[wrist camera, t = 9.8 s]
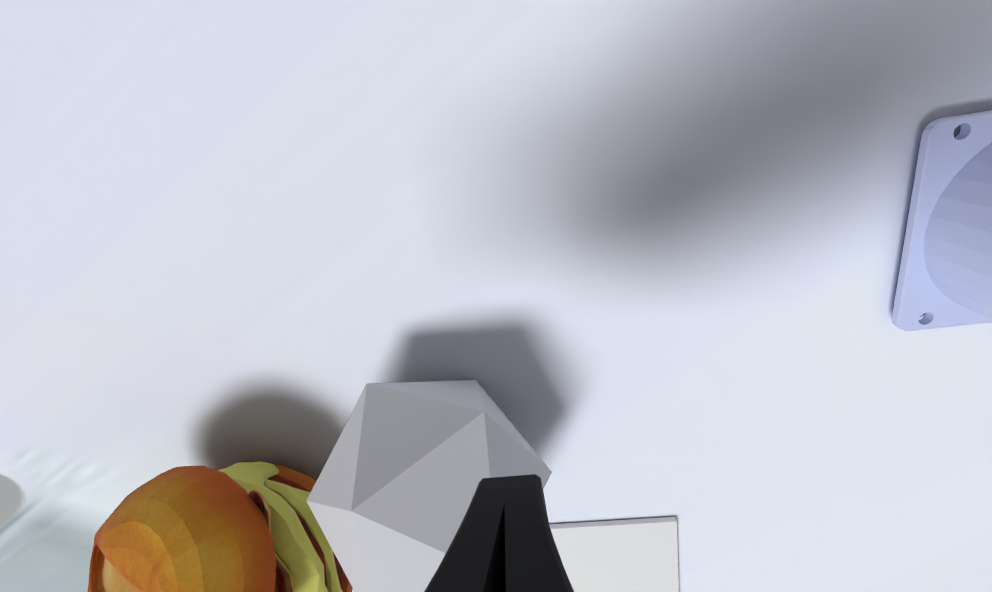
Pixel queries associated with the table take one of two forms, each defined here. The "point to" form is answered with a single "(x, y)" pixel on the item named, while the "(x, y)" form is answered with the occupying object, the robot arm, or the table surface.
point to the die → (412, 478)
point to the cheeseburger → (217, 535)
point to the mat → (620, 554)
